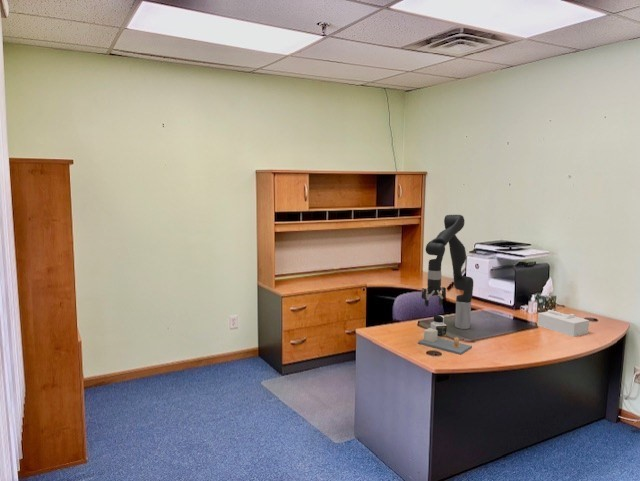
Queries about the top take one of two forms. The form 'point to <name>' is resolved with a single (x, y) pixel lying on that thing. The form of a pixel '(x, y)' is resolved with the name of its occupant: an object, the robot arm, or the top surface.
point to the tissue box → (563, 323)
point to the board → (447, 345)
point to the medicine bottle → (439, 325)
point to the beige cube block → (430, 335)
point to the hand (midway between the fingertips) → (433, 305)
